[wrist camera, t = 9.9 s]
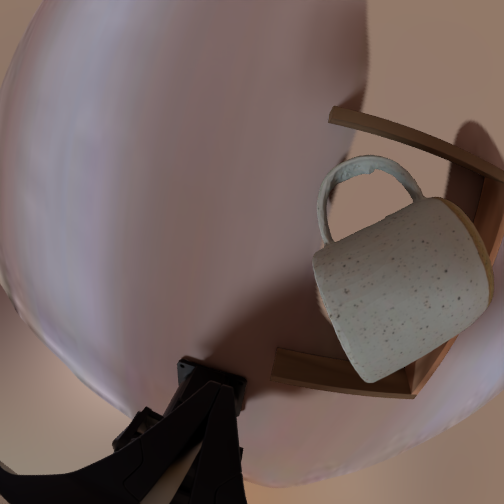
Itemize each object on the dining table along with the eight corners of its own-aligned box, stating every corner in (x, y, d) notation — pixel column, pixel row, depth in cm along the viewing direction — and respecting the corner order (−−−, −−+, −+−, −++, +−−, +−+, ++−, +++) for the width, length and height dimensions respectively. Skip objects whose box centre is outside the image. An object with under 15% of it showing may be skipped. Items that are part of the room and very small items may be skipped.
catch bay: (407, 373, 19) (413, 399, 16) (276, 352, 21) (270, 380, 18) (492, 171, 12) (517, 179, 9) (329, 112, 13) (333, 105, 11)
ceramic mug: (456, 272, 15) (509, 338, 8) (360, 325, 18) (371, 410, 11) (395, 129, 13) (456, 118, 6) (281, 197, 16) (254, 238, 9)
